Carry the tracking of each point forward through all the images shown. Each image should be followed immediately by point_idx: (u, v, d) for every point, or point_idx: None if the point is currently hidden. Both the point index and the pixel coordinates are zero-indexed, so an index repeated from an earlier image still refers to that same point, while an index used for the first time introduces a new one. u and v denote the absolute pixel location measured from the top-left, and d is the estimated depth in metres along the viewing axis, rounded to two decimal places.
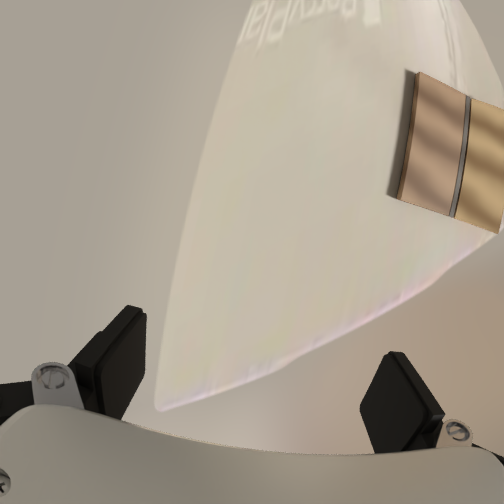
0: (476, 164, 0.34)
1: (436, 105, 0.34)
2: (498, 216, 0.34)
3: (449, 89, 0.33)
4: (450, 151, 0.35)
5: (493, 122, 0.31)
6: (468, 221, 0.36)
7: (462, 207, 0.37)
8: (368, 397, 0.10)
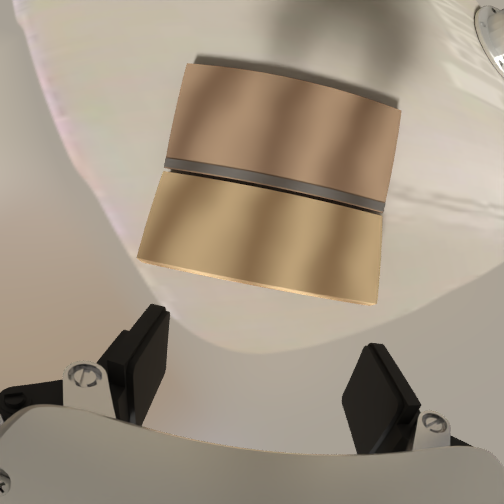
0: (262, 208, 0.25)
1: (353, 129, 0.24)
2: (167, 256, 0.23)
3: (387, 165, 0.25)
4: (277, 152, 0.25)
5: (350, 253, 0.24)
6: (157, 195, 0.25)
7: (182, 182, 0.25)
8: (349, 388, 0.11)
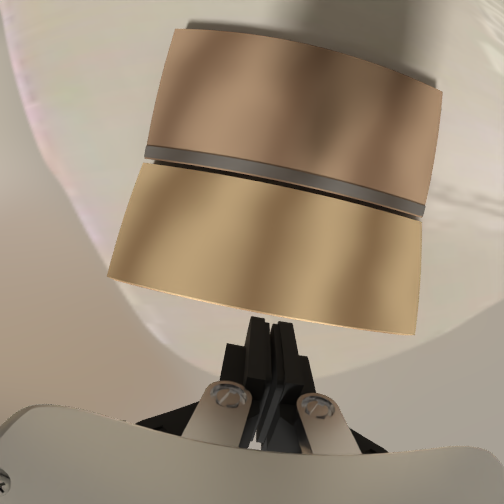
0: (271, 211, 0.19)
1: (387, 111, 0.17)
2: (145, 275, 0.17)
3: (427, 157, 0.18)
4: (292, 137, 0.18)
5: (385, 271, 0.18)
6: (134, 193, 0.18)
7: (166, 177, 0.19)
8: None
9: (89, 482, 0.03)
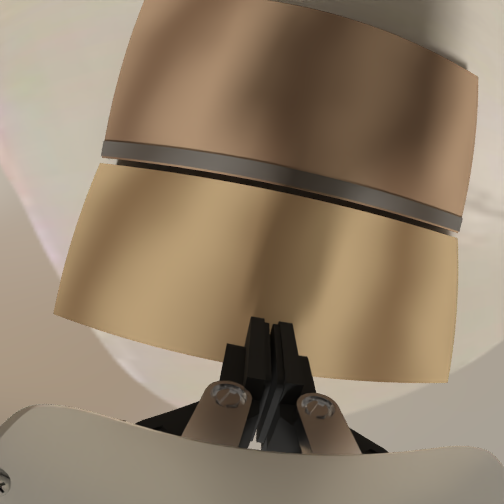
0: (267, 227, 0.14)
1: (417, 96, 0.12)
2: (98, 315, 0.12)
3: (465, 157, 0.13)
4: (295, 125, 0.13)
5: (416, 305, 0.13)
6: (87, 204, 0.13)
7: (126, 181, 0.14)
8: None
9: (89, 482, 0.03)
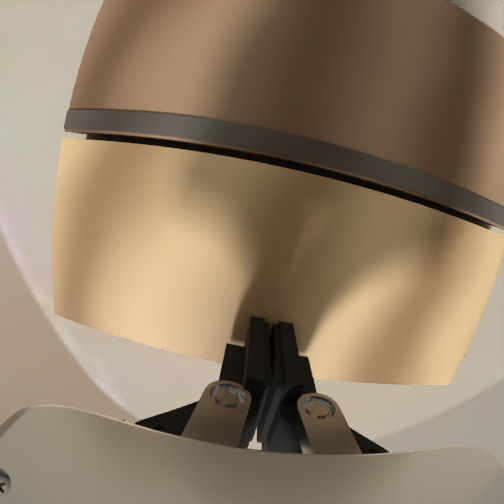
0: (276, 222, 0.10)
1: (461, 61, 0.08)
2: (97, 317, 0.12)
3: None
4: (315, 83, 0.09)
5: (440, 313, 0.11)
6: (58, 194, 0.10)
7: (96, 161, 0.10)
8: None
9: (89, 482, 0.03)
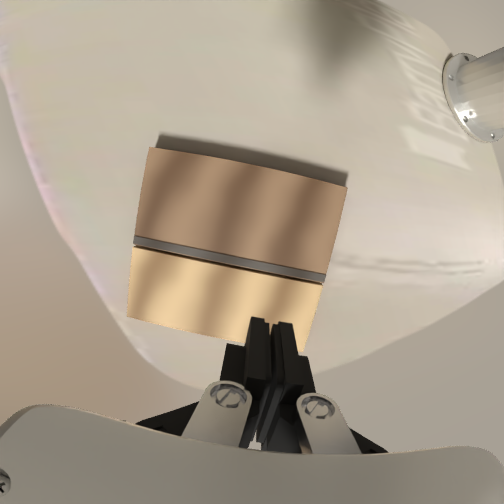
0: (215, 283, 0.30)
1: (298, 210, 0.29)
2: (148, 316, 0.31)
3: (329, 241, 0.30)
4: (228, 233, 0.29)
5: (286, 317, 0.31)
6: (132, 269, 0.30)
7: (149, 258, 0.30)
8: None
9: (89, 482, 0.03)
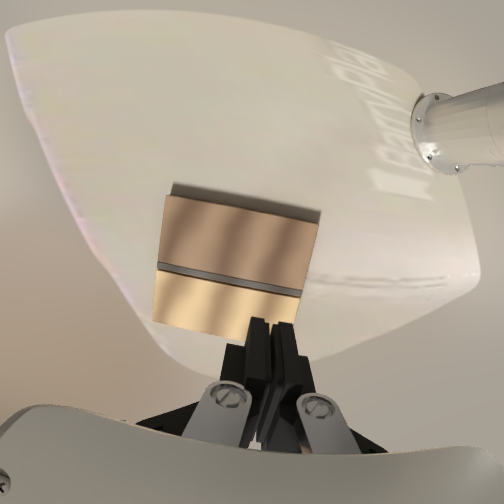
0: (219, 296, 0.41)
1: (279, 243, 0.39)
2: (168, 321, 0.42)
3: (304, 265, 0.40)
4: (228, 261, 0.40)
5: (272, 322, 0.42)
6: (156, 286, 0.41)
7: (169, 278, 0.40)
8: None
9: (89, 482, 0.03)
